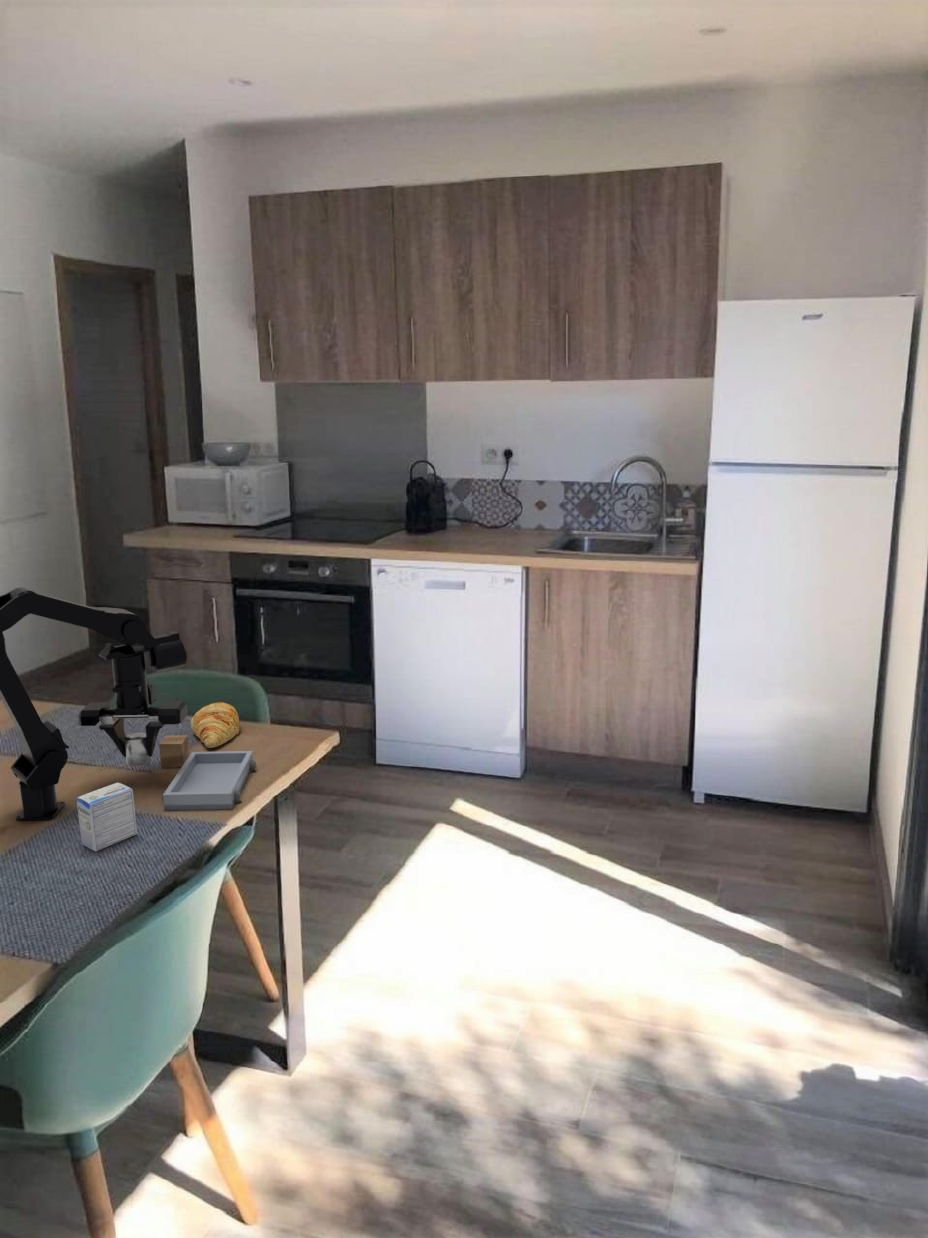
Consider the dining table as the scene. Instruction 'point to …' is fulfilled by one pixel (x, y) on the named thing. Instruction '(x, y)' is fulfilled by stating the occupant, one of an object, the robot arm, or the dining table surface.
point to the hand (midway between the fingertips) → (138, 756)
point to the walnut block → (174, 751)
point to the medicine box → (106, 816)
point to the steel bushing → (136, 749)
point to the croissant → (216, 724)
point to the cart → (209, 781)
